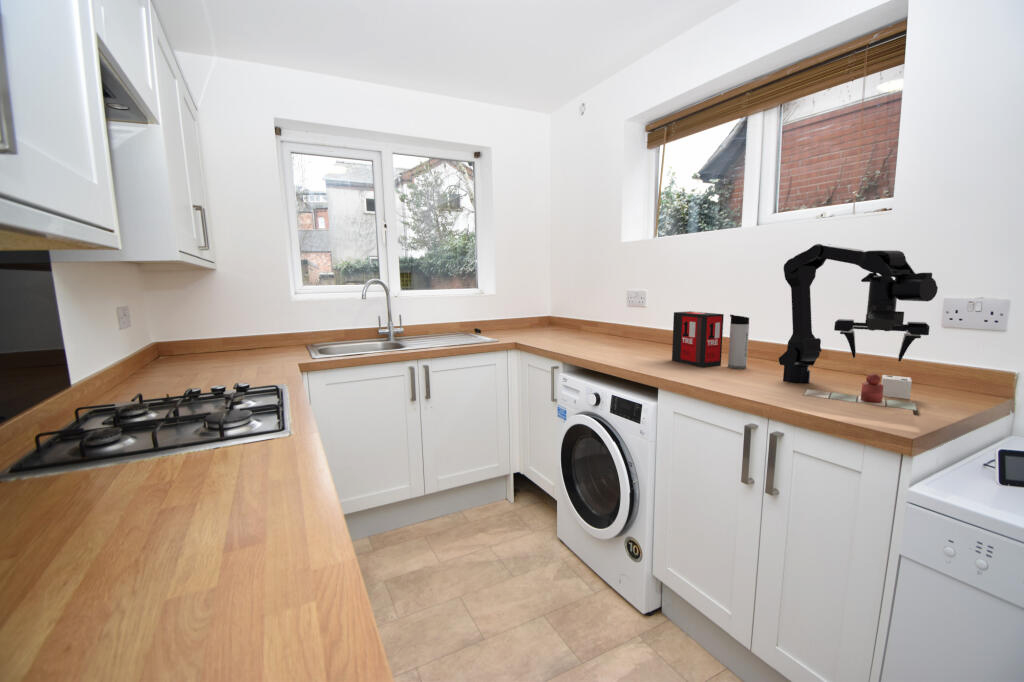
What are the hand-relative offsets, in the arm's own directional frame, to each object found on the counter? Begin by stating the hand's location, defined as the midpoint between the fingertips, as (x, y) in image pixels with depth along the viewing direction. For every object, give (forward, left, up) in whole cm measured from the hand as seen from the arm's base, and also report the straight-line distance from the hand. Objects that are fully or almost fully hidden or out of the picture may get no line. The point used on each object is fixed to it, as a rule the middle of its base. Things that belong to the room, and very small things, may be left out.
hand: (876, 359), depth 117 cm
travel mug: (-40, +32, -12) cm, 53 cm away
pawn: (0, 0, -11) cm, 11 cm away
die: (+5, +11, -12) cm, 17 cm away
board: (-3, 0, -12) cm, 13 cm away
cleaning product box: (-55, +32, -13) cm, 65 cm away
